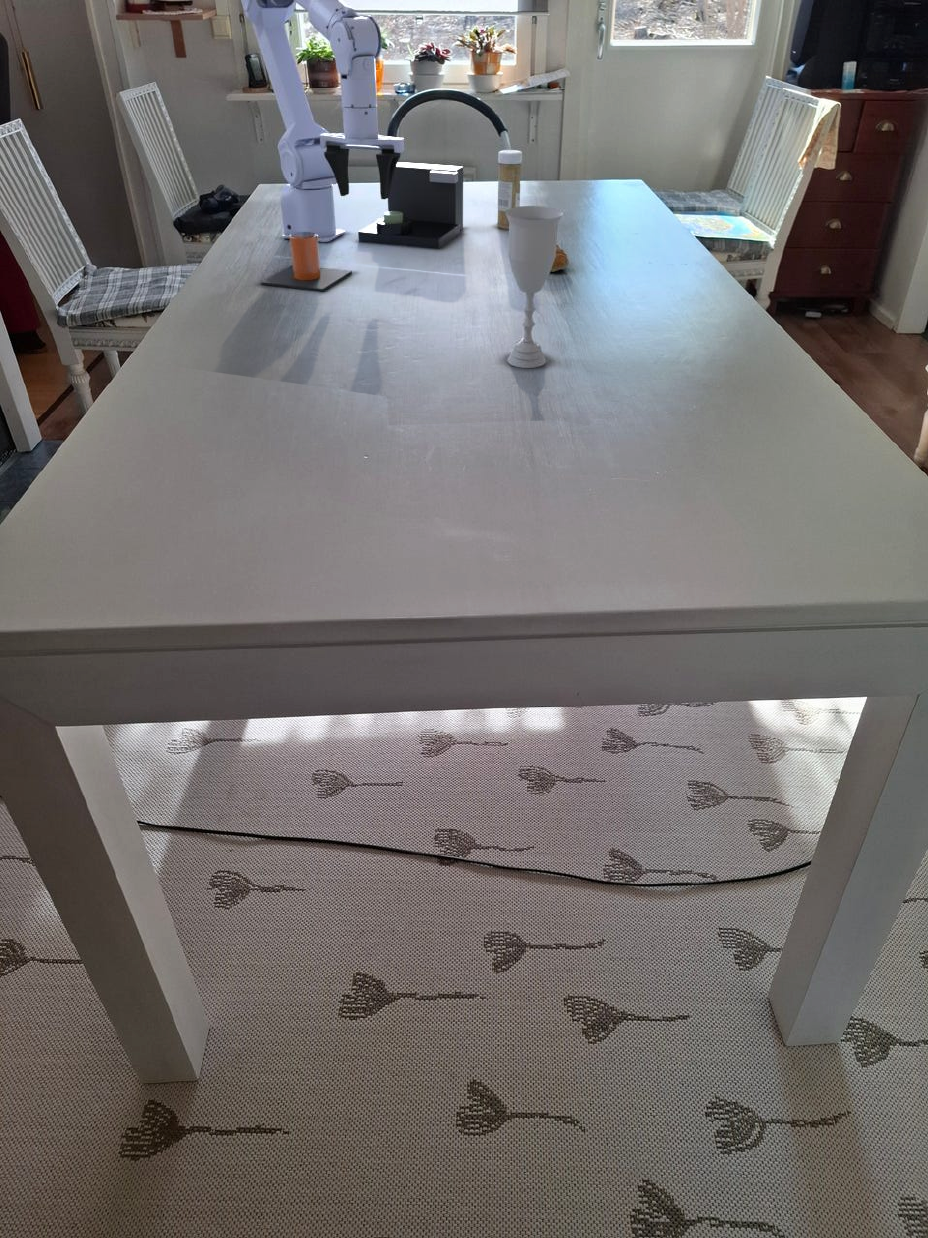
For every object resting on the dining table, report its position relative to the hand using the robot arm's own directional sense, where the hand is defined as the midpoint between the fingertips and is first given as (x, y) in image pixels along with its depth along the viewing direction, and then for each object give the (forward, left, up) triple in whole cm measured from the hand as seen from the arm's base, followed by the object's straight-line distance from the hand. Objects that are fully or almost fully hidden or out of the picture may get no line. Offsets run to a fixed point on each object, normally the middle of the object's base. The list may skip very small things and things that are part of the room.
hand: (364, 196), depth 150 cm
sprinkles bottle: (+18, +28, -10) cm, 35 cm away
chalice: (+41, -42, -10) cm, 59 cm away
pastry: (+32, +3, -10) cm, 34 cm away
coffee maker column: (+3, +21, -9) cm, 23 cm away
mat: (-3, -18, -9) cm, 21 cm away
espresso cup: (-3, -18, -9) cm, 20 cm away
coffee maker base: (+3, +13, -9) cm, 16 cm away
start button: (+1, +10, -6) cm, 12 cm away
